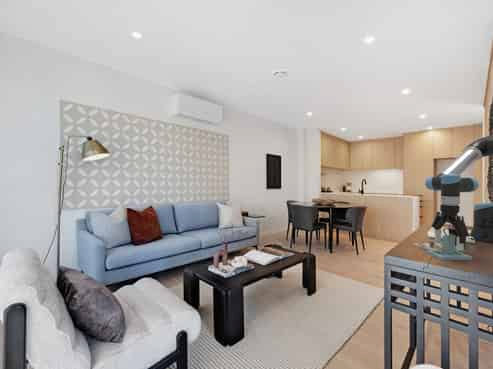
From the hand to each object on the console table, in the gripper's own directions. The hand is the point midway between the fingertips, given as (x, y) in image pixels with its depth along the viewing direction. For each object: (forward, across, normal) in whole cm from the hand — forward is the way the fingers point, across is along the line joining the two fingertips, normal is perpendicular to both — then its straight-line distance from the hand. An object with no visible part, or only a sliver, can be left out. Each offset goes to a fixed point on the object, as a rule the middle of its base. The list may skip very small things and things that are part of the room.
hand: (448, 245), depth 123 cm
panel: (+6, 0, 0) cm, 6 cm away
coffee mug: (+6, -20, +20) cm, 29 cm away
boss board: (+6, -13, +4) cm, 14 cm away
